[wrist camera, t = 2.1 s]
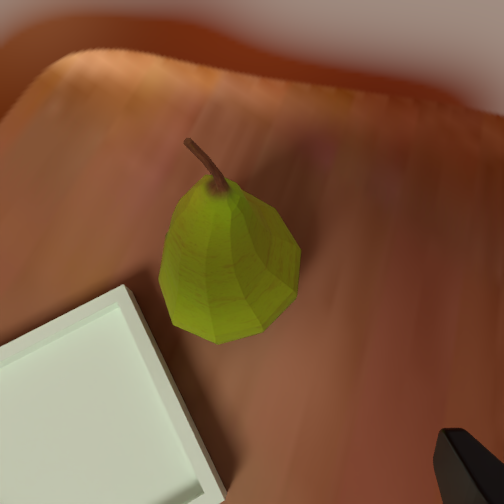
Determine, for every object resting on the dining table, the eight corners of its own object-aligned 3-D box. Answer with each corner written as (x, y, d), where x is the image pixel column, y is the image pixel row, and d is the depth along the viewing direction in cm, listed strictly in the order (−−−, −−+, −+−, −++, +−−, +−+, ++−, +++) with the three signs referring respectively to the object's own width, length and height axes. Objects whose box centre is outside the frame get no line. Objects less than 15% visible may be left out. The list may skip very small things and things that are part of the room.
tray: (227, 492, 20) (224, 500, 18) (4, 625, 18) (-17, 643, 17) (132, 291, 23) (123, 284, 21) (-68, 393, 21) (-92, 393, 20)
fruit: (266, 371, 21) (275, 338, 10) (146, 318, 22) (27, 232, 11) (316, 249, 23) (372, 102, 12) (203, 205, 24) (152, 26, 12)
